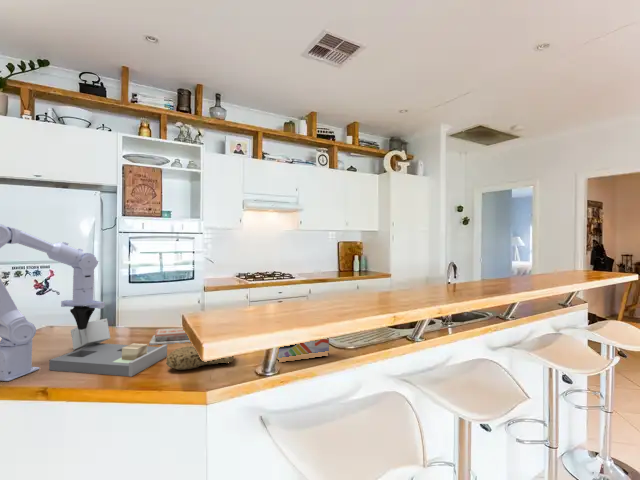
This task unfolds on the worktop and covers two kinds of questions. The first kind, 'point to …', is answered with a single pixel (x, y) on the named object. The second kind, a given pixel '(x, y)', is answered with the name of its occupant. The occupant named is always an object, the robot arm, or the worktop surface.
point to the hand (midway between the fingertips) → (82, 328)
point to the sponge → (190, 359)
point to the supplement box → (90, 334)
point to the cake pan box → (304, 348)
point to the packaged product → (169, 336)
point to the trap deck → (106, 360)
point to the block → (134, 351)
